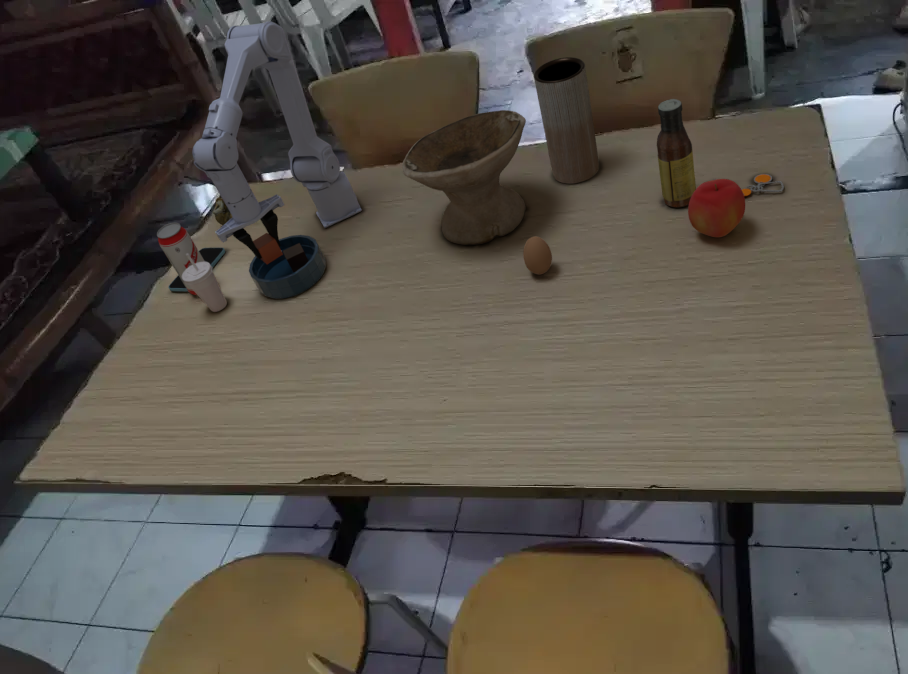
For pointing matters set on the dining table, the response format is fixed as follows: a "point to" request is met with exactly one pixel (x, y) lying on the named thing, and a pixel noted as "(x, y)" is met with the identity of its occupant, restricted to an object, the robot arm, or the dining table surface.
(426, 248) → the dining table surface
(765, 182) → the key chain
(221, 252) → the smartphone
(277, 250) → the terracotta block
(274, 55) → the robot arm
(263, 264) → the teal bowl
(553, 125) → the planter
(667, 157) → the sauce bottle
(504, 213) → the bowl
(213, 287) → the smoothie
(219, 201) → the onion
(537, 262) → the egg
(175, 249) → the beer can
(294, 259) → the walnut block
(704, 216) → the apple
